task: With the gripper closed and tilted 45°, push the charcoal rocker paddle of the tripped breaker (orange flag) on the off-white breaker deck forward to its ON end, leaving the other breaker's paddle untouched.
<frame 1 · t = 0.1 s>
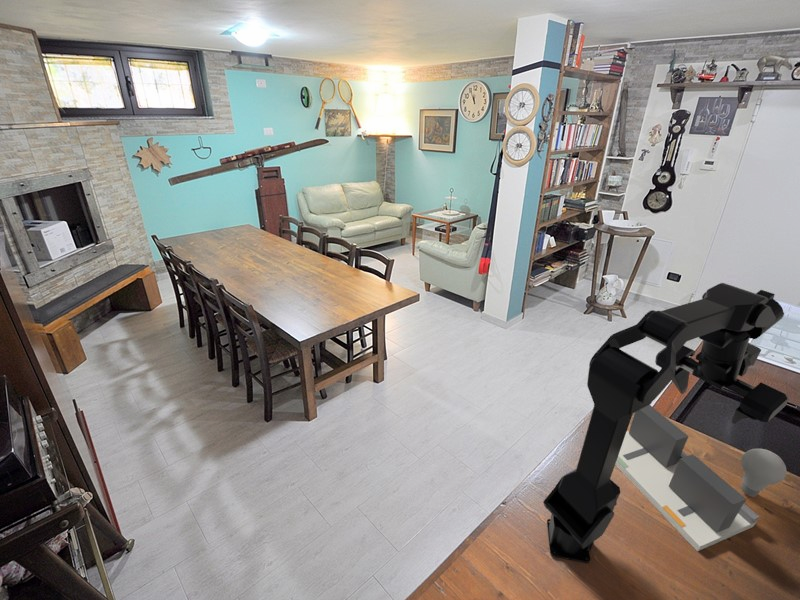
hand: (707, 406, 75), 15 cm above the kitchen counter, tool pointing down, fingers open, 9 cm apart
lightbulb: (747, 493, 76), on the kitchen counter
breaker deck: (666, 481, 79), on the kitchen counter
tripped breaker: (704, 492, 70), point 6 cm above the kitchen counter, slide at 3.0 cm
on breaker: (656, 434, 82), point 6 cm above the kitchen counter, slide at 6.0 cm
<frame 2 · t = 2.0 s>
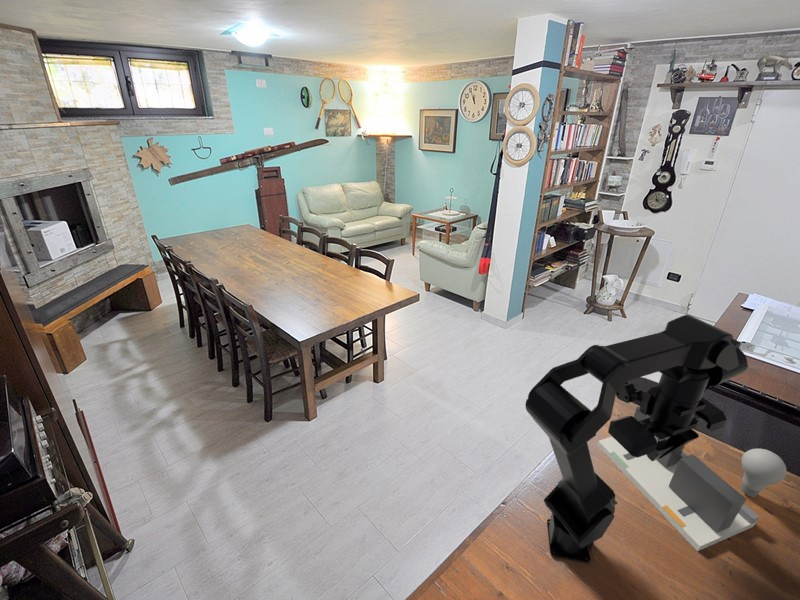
hand: (654, 457, 69), 13 cm above the kitchen counter, tool pointing down, fingers closed
nothing on the kitchen counter moved.
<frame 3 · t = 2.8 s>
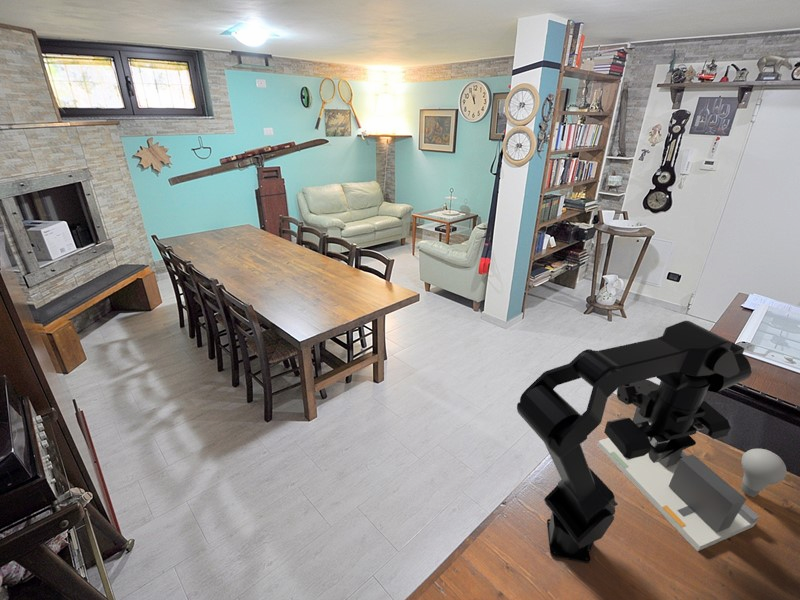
hand: (653, 460, 69), 13 cm above the kitchen counter, tool pointing down, fingers closed
nothing on the kitchen counter moved.
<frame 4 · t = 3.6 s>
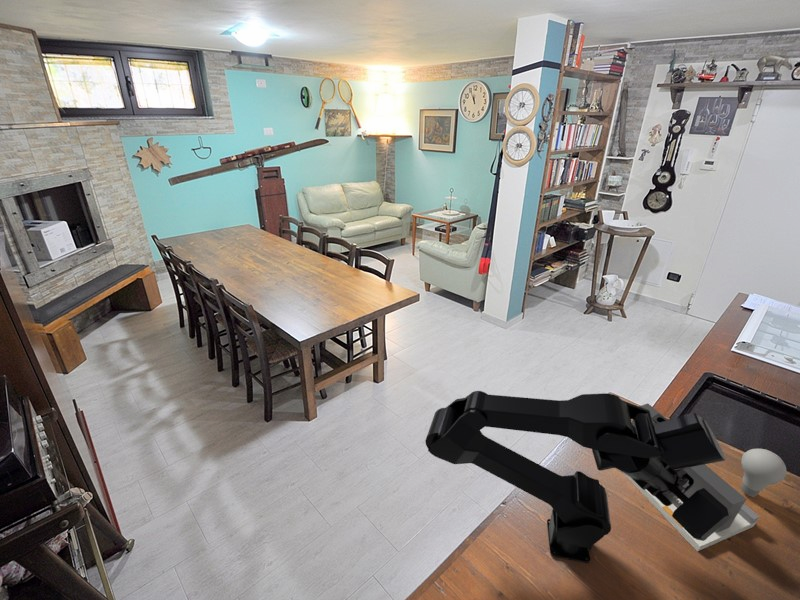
hand: (674, 485, 66), 11 cm above the kitchen counter, tool tilted 45°, fingers closed
nothing on the kitchen counter moved.
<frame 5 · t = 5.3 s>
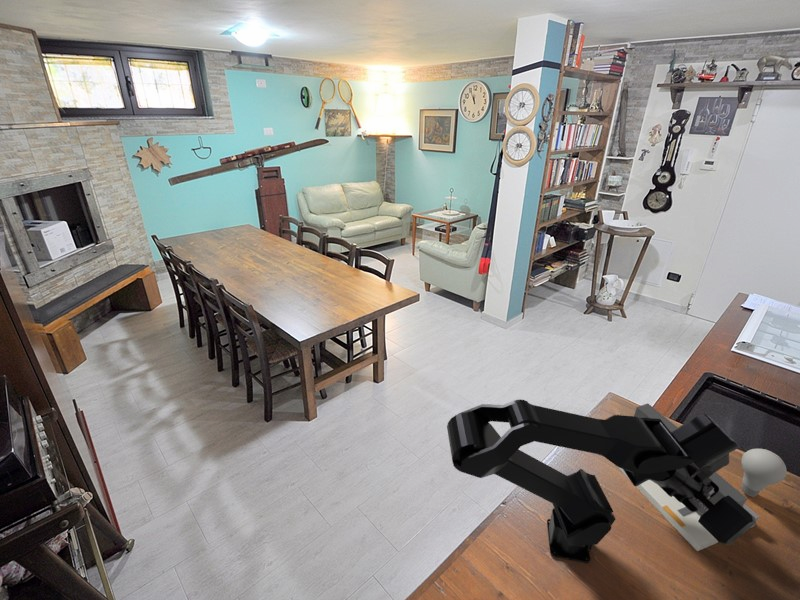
hand: (700, 491, 69), 7 cm above the kitchen counter, tool tilted 45°, fingers closed, pressing on tripped breaker
tripped breaker: (705, 491, 70), point 6 cm above the kitchen counter, slide at 3.2 cm, touching gripper
everything else where it was.
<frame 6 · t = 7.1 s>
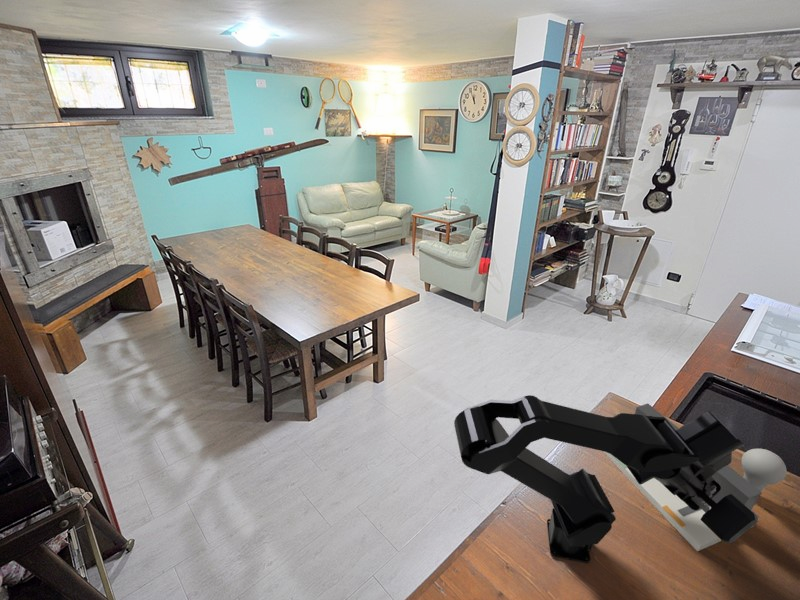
hand: (700, 490, 70), 6 cm above the kitchen counter, tool tilted 45°, fingers closed
tripped breaker: (719, 486, 71), point 6 cm above the kitchen counter, slide at 6.6 cm
everything else where it was.
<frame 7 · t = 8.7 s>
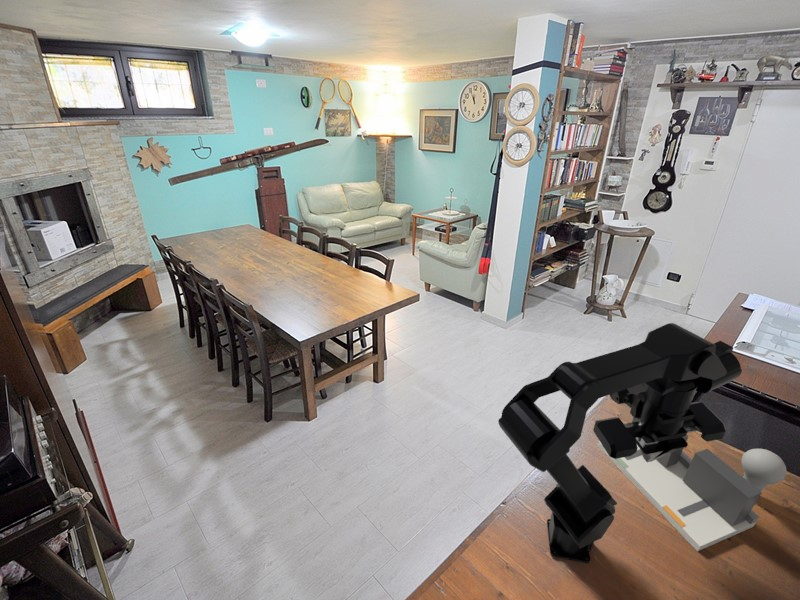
hand: (647, 459, 68), 13 cm above the kitchen counter, tool pointing down, fingers closed
nothing on the kitchen counter moved.
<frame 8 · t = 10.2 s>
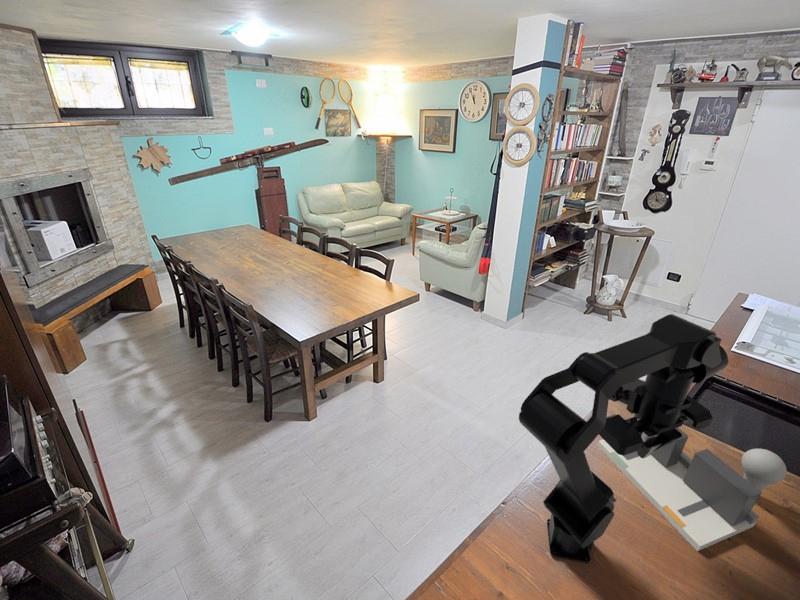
hand: (641, 456, 69), 13 cm above the kitchen counter, tool pointing down, fingers closed
nothing on the kitchen counter moved.
at the end: tripped breaker slide at 6.6 cm; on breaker slide at 6.0 cm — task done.
